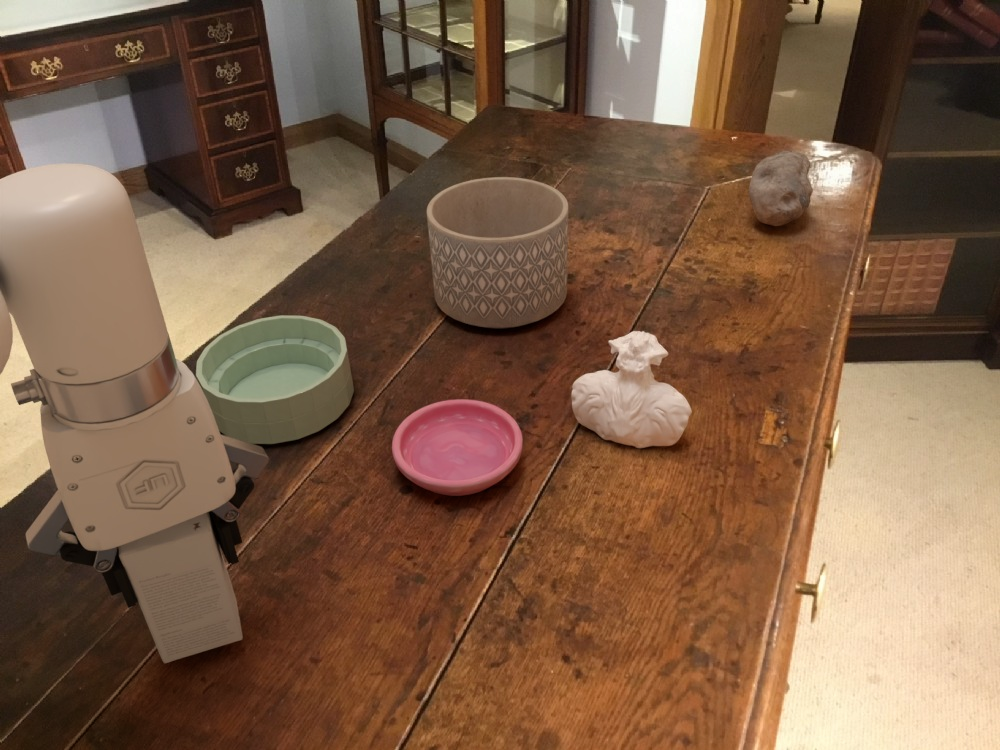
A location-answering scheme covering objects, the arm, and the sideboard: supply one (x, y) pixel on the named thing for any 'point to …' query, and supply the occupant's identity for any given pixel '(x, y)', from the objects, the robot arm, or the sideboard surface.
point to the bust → (631, 397)
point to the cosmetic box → (183, 588)
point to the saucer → (457, 446)
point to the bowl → (276, 378)
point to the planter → (499, 251)
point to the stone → (780, 188)
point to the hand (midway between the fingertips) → (179, 570)
